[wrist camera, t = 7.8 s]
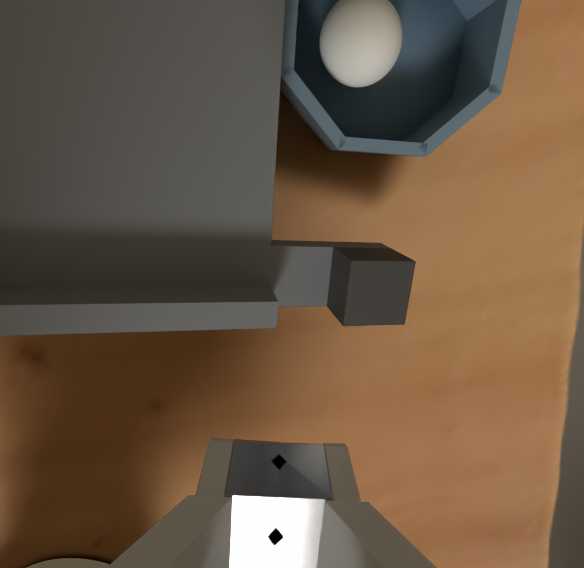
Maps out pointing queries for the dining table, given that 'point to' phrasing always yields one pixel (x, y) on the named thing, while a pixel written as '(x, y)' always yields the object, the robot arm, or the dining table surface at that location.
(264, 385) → the dining table surface
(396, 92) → the cup
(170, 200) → the lever board
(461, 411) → the dining table surface
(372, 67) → the ball
